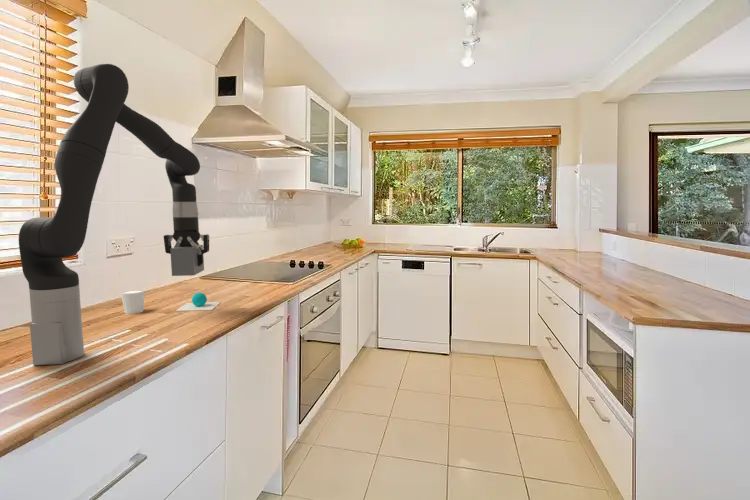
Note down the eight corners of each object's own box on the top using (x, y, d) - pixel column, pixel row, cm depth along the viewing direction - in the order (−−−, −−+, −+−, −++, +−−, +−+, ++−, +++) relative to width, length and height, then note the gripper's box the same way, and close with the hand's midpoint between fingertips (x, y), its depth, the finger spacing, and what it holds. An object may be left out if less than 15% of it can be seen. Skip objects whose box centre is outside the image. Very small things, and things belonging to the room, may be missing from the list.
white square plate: (211, 310, 144) (211, 309, 144) (175, 311, 142) (175, 310, 142) (220, 302, 156) (220, 301, 156) (187, 303, 154) (187, 302, 154)
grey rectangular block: (194, 275, 132) (192, 248, 131) (171, 275, 131) (170, 248, 130) (204, 270, 143) (202, 244, 142) (183, 270, 142) (182, 245, 141)
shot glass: (135, 314, 138) (133, 294, 137) (117, 313, 139) (116, 293, 138) (150, 309, 144) (149, 290, 144) (133, 308, 146) (132, 289, 145)
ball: (208, 305, 152) (204, 306, 147) (194, 306, 151) (189, 307, 146) (208, 292, 152) (204, 292, 147) (194, 292, 152) (190, 293, 147)
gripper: (157, 216, 130) (161, 268, 132) (205, 216, 132) (207, 267, 134) (167, 215, 138) (170, 264, 140) (211, 215, 139) (213, 263, 141)
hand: (188, 265), depth 137 cm, fingers closed on grey rectangular block, 7 cm apart
